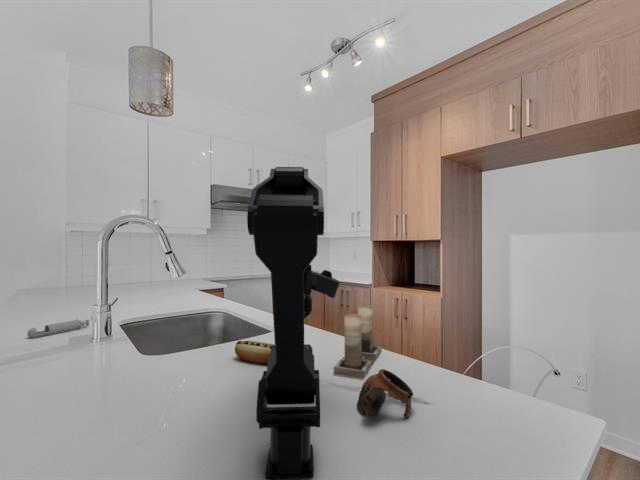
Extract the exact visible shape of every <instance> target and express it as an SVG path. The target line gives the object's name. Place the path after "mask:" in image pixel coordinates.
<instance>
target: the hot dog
mask: <svg viewBox="0 0 640 480" xmlns="http://www.w3.org/2000/svg"><path fill="white" fill-rule="evenodd" d="M273 345H274V344H272V343H268V342H261V341H254V340H239V341H237V342H236V343H235V347H234V353H235V355H236V356H237V357H238V358H239V359H240V360H243V361H246V362H249V363H254V364H261V365H262V364H263V365H268V359H269V355H270V354H271V348H272V347H273Z"/></svg>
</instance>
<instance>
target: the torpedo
mask: <svg viewBox="0 0 640 480" xmlns="http://www.w3.org/2000/svg"><path fill="white" fill-rule="evenodd" d="M87 326H90V319H85V320H79V319H75V320H69V321H64V322H57V323H52V324H47V325H45V326H44V330H41V331H40V330H39V331H37V328H36V327H32V328H29V330H28V331H27V337H28V338H31V339H36V338H40V337H42V338H43V337H46V336H52V335H57V334H60V333H61V332H62V333H66V331H67V332H71V330H72V331H75V330H76V329H77V330H79V329H81V328H83V327H84V328H85V327H87ZM56 333H57V334H56ZM51 334H52V335H51Z"/></svg>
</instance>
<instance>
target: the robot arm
mask: <svg viewBox="0 0 640 480" xmlns="http://www.w3.org/2000/svg"><path fill="white" fill-rule="evenodd" d="M251 190H252V191H251V194H250V198H249V202H248V207H247V215H246V217H247V218H246V219H247V221H246V223H247V224H246V225H247V231H248V234H249V236H253V244H254V250H255V251H254V252H255V255H256V256H257V257H258V259H259V261H260V262H262V263H263V265H264V266H265V268H267V269H268V271H269V272H270V282H271V283H270V284H271V297H272V318H273V332H274V333H273V334H274V335H273V337H274V344H273V347H272V348H271V354H270V355H269V359H268V364H267V366H266V367H267V368H266V370H263V374H262V376H261V378H260V380H258V386H257V399H256V411H255V412H256V414H255V417H256V418H255V421H256V423H257V424H258V429H259V430H262V429H263V430H264V429H270V435H269V436H270V439H269V440H270V444H269V445H270V446H269V451H268V455H267V461H266V466H265V472H264V477H265V479H266V480H283V479H286V480H287V479H311V478H314V474H315V472H314V469H315V468H314V445H313V444H311V427H312V428H315V427H316V428H321V399H320V397H321V394H320V393H321V390H320V370H319V369H316V367H315V355H314V354H313V347H312V345H311V344H306V343H305V319H306V317H308V316H310V314H311V313H312V311H313V310H312V307H313V306H312V305H313V304H312V303H313V301H312V296H311V294H312V290H313V291H315V292H317V293H320V294H322V295H326V296H327V297H329V298H332V299H334V298H335V297H336V294H337V293H338V289H339V286H340V283H341V282H340V281H339V280H338V279H337V278H333V275H332V272H331V271H329V270H327V269H323V271H322V272H317V271H314V270H312V265H311V263H312V262H313V260H315V258H316V257H317V255H318V238H319V236H324V233H325V232H324V231H325V205H324V194H323V193H324V192H323V188H321V187H320V186H319V185H318V184H317V183H316V182H315V181H313V180H312V178H310V177H309V168H305V167H304V166H276V167H275V168H270V173H269V177H266V179H264V180H263V181H262V182H260V183H259V184H258V185H256V186H254V188H252V189H251ZM312 404H315V405H314V406H312ZM268 405H269V407H268ZM270 405H271V406H270ZM273 405H274V406H273ZM276 405H277V406H276ZM279 405H281V406H279ZM283 405H284V406H283ZM285 405H308V406H285ZM309 405H311V406H309ZM272 406H273V407H272Z"/></svg>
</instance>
